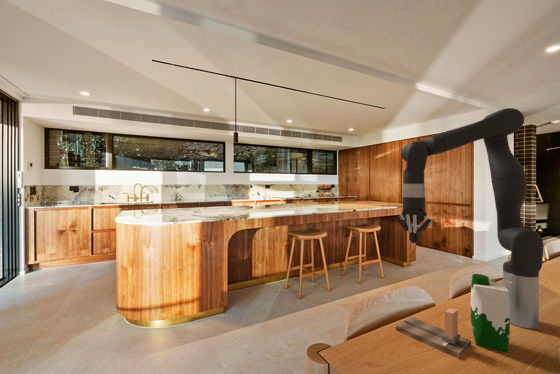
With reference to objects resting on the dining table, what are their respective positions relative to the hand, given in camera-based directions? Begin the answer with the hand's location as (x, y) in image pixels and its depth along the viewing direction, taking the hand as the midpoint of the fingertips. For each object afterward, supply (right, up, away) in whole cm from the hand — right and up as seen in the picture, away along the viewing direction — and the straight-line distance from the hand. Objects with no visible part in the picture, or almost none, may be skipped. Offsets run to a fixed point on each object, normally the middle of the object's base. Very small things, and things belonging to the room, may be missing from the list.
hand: (413, 242), depth 95 cm
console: (-2, -27, -14) cm, 30 cm away
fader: (+1, -25, -19) cm, 31 cm away
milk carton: (+14, -27, -17) cm, 35 cm away
